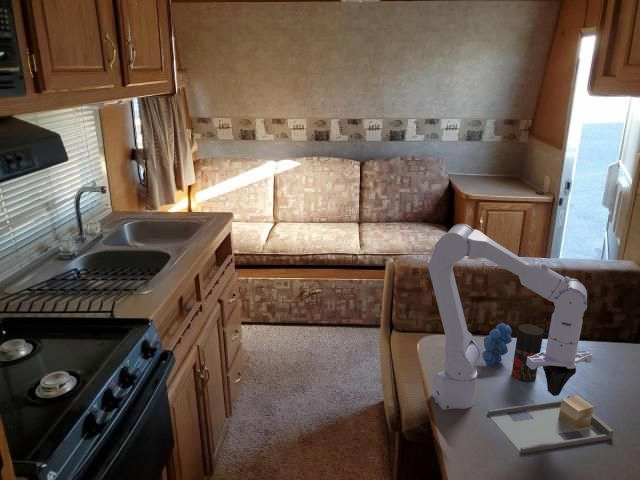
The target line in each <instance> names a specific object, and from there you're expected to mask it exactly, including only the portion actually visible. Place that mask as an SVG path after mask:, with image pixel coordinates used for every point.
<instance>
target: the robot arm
mask: <svg viewBox="0 0 640 480" xmlns="http://www.w3.org/2000/svg"><path fill="white" fill-rule="evenodd" d="M467 255H468V258H467V259H468V260H477V259H486V260H488V261H490V262H491V263H493V264H495V265H497V266H500V268H503V269H505V270H507V271H509V272H510V273H512V274H514V275H516V276H518V278H519V280H520V283H521V284H520V285H522V286H524V287H525V288H527V289H529V290H530V291H532V292H534V293H536V294H537V295H538V296H540V297H542V298H544V299H545V300H547V301H550V302H552V303H553V305H554V307H555V308H554V312H553V313H552V314H551V320H550V324H549V325H550V326H549V331H548V335H547V336H548V337H547V343H546V349H545V350H542V351H540V353H538V354H536V355H534V356H530V357H527V362H526V365H527V366H528V367H529V368H531V369H536V367H538V368H539V367H540V368H541V367H542V369H543V373H544V375H545V379H546V385H547V386H546V387H547V388H546V389H547V392H548V393H549V394H550V395H551V396H553V397H557V396H560V394H561V392H562V390H563V389H564V387H565V385H566V384H567V383H568V381H569V380H570V379H571V378H572V377H573V376H574V375H576V373H577V364H580V363H586V364H589V363H592V359H593V354H592V353H590V352H589V351H587V350H585V349H584V350H578V348H579V341H580V337H581V332H582V326H583V317H584V314H585V311H586V310H587V308H588V305H587V304H588V291H587V289H586V286H585V285H584V284H583V283H582V282H580V281H579V280H578V279H576V278H571V277H569V276H567V275H566V276H563V275H562V274H559V273H558V272H556V271H554V270H552V269H551V268H549V267H550V264H548V263H546V262H545V261H544V262H542V263H540V262H539V261H531V262H527V261H525V260H524V259H522V258H521V257H519V256H518V255H516V254H515V253H513V252H512V251H511V250H508V249H507V248H505V247H504V246H502V245H501V244H499V243H497V242H496V241H494V240H493V239H491V238H490V237H488V236H487V235H486V234H484V233H483V232H482V231H480V230H478V229H474V228H472V227H471V226H470V225H468V224H466V223H458V224H457V223H456V224H455V225H453V226H452V227H451V228H450V229H449V230H448V232H446V233H445V234H444V235H442V236H441V238H440V239H438V241H437V242H436V243H435V244H434V248H433V252H432V253H431V257H430V260H429V263H428V271H429V276H430V279H431V284H432V287H433V292H434V296H435V299H436V303H437V308H438V312H439V315H440V318H441V319H440V320H441V323H442V326H443V327H442V328H443V330H444V335H445V345H444V346H445V347H444V353H445V362H444V370H442V371H440V372H437V373H435V374H434V376H433V380H432V392H431V396H432V397H433V399H434V402H435V403H436V404H438V406H439V407H440V408H441V410H443V411H445V410H452V409H459V410H461V409H462V410H463V409H470V408H472V406H473V405H474V402H475V401H474V400H475V396H476V395H475V394H476V386H477V378H478V371H477V369H476V363H477V362H478V360H479V358H480V357H481V351H480V347H479V346H478V344H477V343H476V341H475V340H474V337H473V335H472V333H471V332H469V330H468V326H467V322H466V318H465V315H464V314H465V313H464V310H463V306H462V301H461V298H460V293H459V289H458V286H457V282H456V277H455V273H454V270H453V269H454V266H455V265H456V263H458V262H459V261H462V260H463V259H464V258H465V256H467Z"/></svg>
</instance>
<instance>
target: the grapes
mask: <svg viewBox="0 0 640 480" xmlns="http://www.w3.org/2000/svg"><path fill="white" fill-rule="evenodd" d="M511 334H512V328H511V326H510V325H509V324H506V323H504V322H501V323H499V324H497V325H496V326H495V328H493V329H492V330H491V331H489V335H487V336H484V338H483V346H484V347H483V348H484V349H485V350H484V351H483V352H482V353H481V354H482V357H481V358H482V360H483V361H484V363H485V364H486V366H487V367H493V366H494V365H495V364H496V365H497V364H499V363H501V362H502V360H503V359H502V356H504V355H506V354H508V352H509V350H508V346H507V345H508V344H511V342H512V340H513V339H512V336H511Z"/></svg>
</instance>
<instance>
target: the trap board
mask: <svg viewBox="0 0 640 480" xmlns="http://www.w3.org/2000/svg"><path fill="white" fill-rule="evenodd" d="M573 396H574V395H571V394H570V395H567V397H566V398H569V397H573ZM561 402H562V399H561V400H553V401H545V402H539V403H530V404H525V405H516V406H510V407H503V408H495V409H488V410H487V416H488V417H489V418H491V420H492V421H493V423H495V425H496V426H497V427H498V428H499V430H500V431H501V432H503V434H504V435H505V436H506V437H507V438H508V440H510V442H511V443H512V445H513V446H514V447H515V448H516V449H517V450H518V451H519V452H520V454H526V453H533V452H538V451H544V450H545V451H546V450H551V449H557V448H562V447H563V448H564V447H570V446H577V445H581V444H582V445H583V444H587V443H588V444H589V443H595V442H600V441H606V440H613V435H614V433H615V432H614V431H615V430H614V429H612V428H611V427H610V426H609V425H607V424H606V422H604V421H603V420H602V419H600V418H599V417H598V416H597V415H596V414H595V413H594V412H593V413H592V418H591V422H590V426H588V427H585V428H581V429H577V430H573V429H572V428H571V427H569V426H568V425H567V424H566V423H564V422H563V421H562V420H560V419H559V418H558V417H559V412H560V407H561ZM523 411H525V412H526V413H527V414H528V415H529V416H530V417H531V419H523V420H517V421H514V420H513V418H512V417H511V416H510V415H509V414H510V413H516V412H523ZM508 413H509V414H508ZM572 432H578V433H579V434H580V435H581V436H583V437H579V438H573V439H566V440H565V439H564V438H563V437H562V436H561V435H560V434H565V433H572Z"/></svg>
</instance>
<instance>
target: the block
mask: <svg viewBox="0 0 640 480" xmlns="http://www.w3.org/2000/svg"><path fill="white" fill-rule="evenodd" d="M572 396H573V397H569V398H567V397H564V398H561V400H562V402H561V407H560V412H559V417H558V418H559V419H560V420H562V421H563V422H564V423H566V424H567V425H568V426H569V427H571V428H572V429H573V430H577V429H581V428H585V427H588V426H590V422H591V418H592V413H593V414H594V408H595V407H594V405H592V404H590V403H589V402H588V401H586V400H585V399H583V398H582V397H580V396H579V395H572Z"/></svg>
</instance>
